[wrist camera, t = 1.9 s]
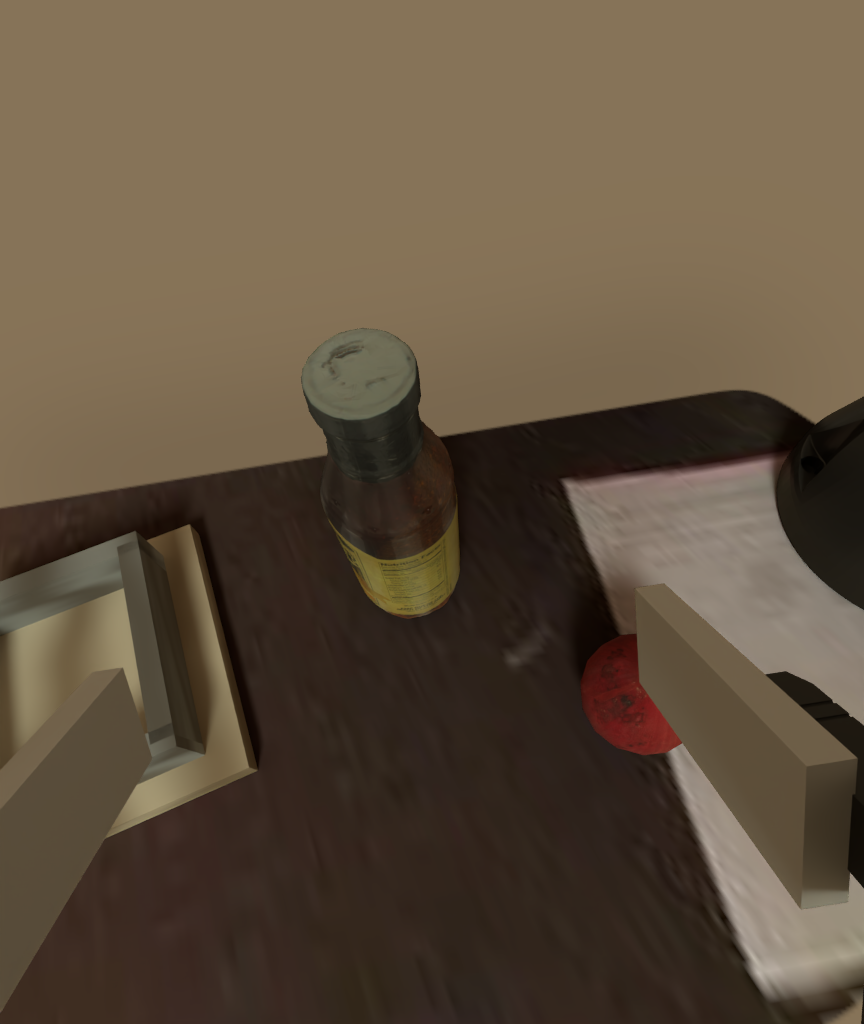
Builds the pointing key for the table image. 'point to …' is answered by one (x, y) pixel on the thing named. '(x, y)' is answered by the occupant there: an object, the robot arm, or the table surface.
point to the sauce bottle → (384, 471)
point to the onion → (623, 700)
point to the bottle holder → (129, 660)
